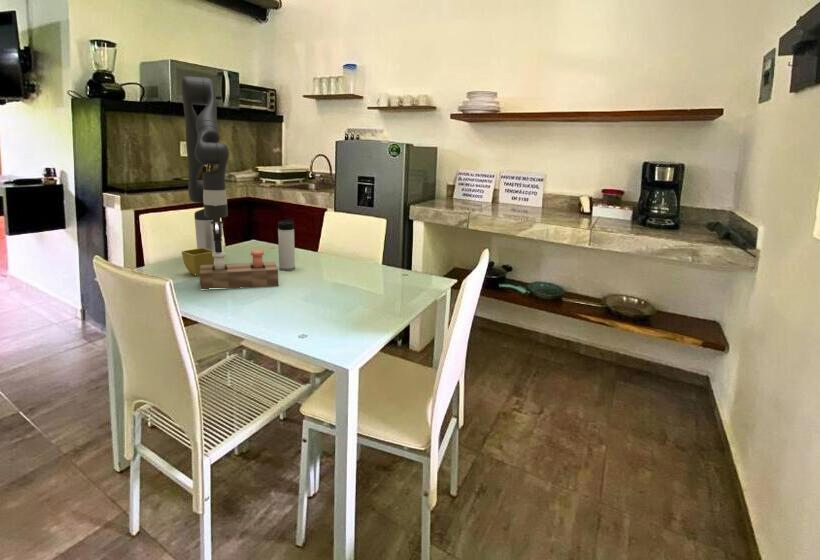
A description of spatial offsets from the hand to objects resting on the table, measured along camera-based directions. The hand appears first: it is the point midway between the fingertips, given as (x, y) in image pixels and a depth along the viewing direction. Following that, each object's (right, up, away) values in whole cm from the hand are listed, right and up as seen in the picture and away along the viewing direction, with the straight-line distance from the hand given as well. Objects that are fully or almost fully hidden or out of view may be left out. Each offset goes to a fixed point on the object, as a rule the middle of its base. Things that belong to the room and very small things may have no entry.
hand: (218, 251), depth 170 cm
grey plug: (0, -7, +2) cm, 7 cm away
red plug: (+12, -6, +7) cm, 15 cm away
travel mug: (+17, -6, +28) cm, 33 cm away
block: (+6, -11, +6) cm, 14 cm away
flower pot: (-13, -8, +15) cm, 22 cm away
